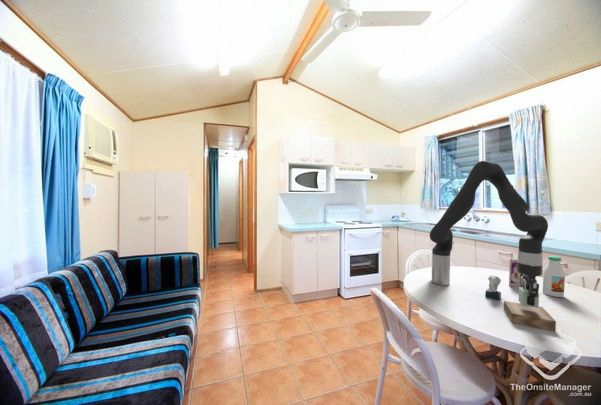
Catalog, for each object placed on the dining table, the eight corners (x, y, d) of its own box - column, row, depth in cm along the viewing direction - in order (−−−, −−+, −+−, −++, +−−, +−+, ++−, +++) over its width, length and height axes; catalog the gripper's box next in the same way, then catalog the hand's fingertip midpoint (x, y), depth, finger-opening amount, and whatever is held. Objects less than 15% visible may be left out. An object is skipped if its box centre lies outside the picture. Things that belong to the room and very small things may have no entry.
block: (522, 305, 101) (522, 291, 101) (518, 300, 105) (518, 287, 105) (538, 308, 98) (538, 293, 98) (533, 303, 103) (534, 289, 103)
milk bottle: (542, 294, 126) (544, 257, 125) (542, 290, 131) (543, 254, 130) (564, 299, 120) (566, 259, 120) (563, 294, 126) (564, 256, 125)
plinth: (511, 322, 100) (512, 313, 99) (503, 309, 111) (503, 300, 111) (555, 331, 93) (555, 321, 93) (542, 316, 105) (542, 307, 105)
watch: (501, 296, 124) (502, 275, 124) (498, 301, 119) (499, 279, 118) (488, 293, 128) (488, 272, 128) (484, 297, 123) (484, 276, 122)
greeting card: (510, 286, 137) (511, 260, 136) (498, 281, 144) (498, 256, 143) (527, 285, 139) (528, 259, 138) (514, 280, 146) (515, 256, 145)
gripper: (512, 257, 109) (511, 294, 110) (523, 265, 97) (522, 307, 97) (535, 259, 106) (533, 297, 106) (549, 268, 93) (547, 311, 94)
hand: (528, 302), depth 102 cm, fingers closed on block, 5 cm apart
